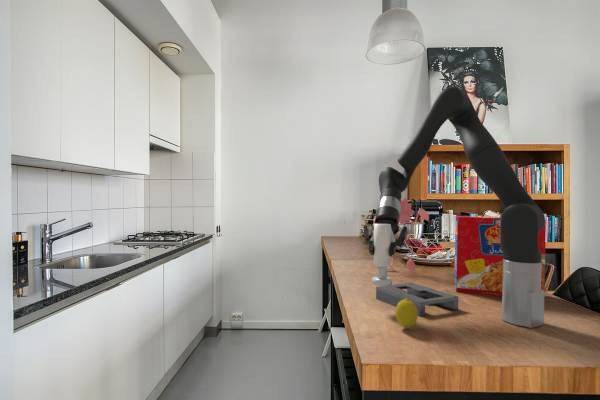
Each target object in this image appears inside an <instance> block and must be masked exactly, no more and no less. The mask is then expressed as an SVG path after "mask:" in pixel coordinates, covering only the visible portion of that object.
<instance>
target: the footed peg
mask: <svg viewBox="0 0 600 400" xmlns="http://www.w3.org/2000/svg"><path fill="white" fill-rule="evenodd" d="M373 224H374V223H373ZM373 233H374V255H373V266H375V267H377V269H376V270H377V276H373V277H371V284H373V285H374V286H389V285H393V278H391V277H388V275H387V274H388V270H387V267H389V266H391V258H392V256H389V249H390V243H391V224H374V231H373Z"/></svg>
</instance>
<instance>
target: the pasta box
mask: <svg viewBox="0 0 600 400" xmlns="http://www.w3.org/2000/svg"><path fill="white" fill-rule="evenodd" d="M500 222H501V217H500V216H497V217H496V216H495V217H493V216H468V215H467V216H465V215H464V216H463V215H461V216H459V215H455V229H454V231H455V232H454V233H455V234H454V235H455V236H454V239H455V241H454V275H453V277H454V279H453V281H454V284H453V285H454V287H455V288H454V289H455V290H454V291H455V292H456V293H462V294H463V293H464V294H472V295H484V296H492V297H493V296H495V297H502V279H503V252H502V249H501V238H500ZM546 227H547V221H546V219H545V225H544V227H543V229H542V230H541V231H540V232H539V233H538V247H539V250H540V252H541V255H542V260H541V290H544V293H545V292H546V290H545V287H546V285H545V284H546V282H545V281H546V241H547V239H546V234H547V233H546V232H547V231H546V230H547V229H546Z"/></svg>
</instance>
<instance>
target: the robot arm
mask: <svg viewBox="0 0 600 400" xmlns="http://www.w3.org/2000/svg"><path fill="white" fill-rule="evenodd" d="M447 120H448V121H449V122H450V123H451V124H452V125H453V127H454V129H455V130H456V132H457V133H458V135H459V137H460V140H461V142H462V146H463V150H464V153H465V156H466V158H467V161H468V162H469V164H470V166H471V167H472V169H473V170H474V172H475V173H476V175H477V177H478V178H479V179H480V180H481V181H482V182H483V183H484V184H485V185H486V186H487V187H488V188H489V189H490V190H491V191H492V192H493V193H494V195H496V197H497V199H498V200H499V201H500V203H501V205H502V206H503V209H504V210H503V211H502V213H501V222H500V238H501V249H502V252H503V279H502V296H501V320H503V321H504V322H507V323H508V324H512V325H515V326H520V327H526V328H528V329H529V328H530V329H531V328H532V329H533V328H538V327H539V326H544V325H545V292H544V290H541V260H542V255H541V252H540V250H539V247H538V233H539V232H540V231H541V230H542V229H543V227H544V225H545V220H546V217H545V214H544V212H543V211H542V209H541V208H540V206H538V204H537V203H536V202H535V201H534V200H533V198H532V197H531V195H530V194H529V193H528V192H527V191H526V189H525V188H524V186H523V185H522V183H521V181H520V179H519V178H518V176H517V174H516V172H515V171H514V168H513V167H512V165H511V164H510V162H509V160H508V158H507V156H506V154H505V153H504V151H503V150H502V149H501V147H500V145H499V144H498V143H497V141H496V140H495V138H494V137H493V135H492V134H491V133H490V131H488V129H487V128H486V127H485V126H484V123H482V121H481V120H480V118H479V115H478V113H477V111H476V109H475V107H474V105H473V103H472V101H471V99H470V97H469V95H468V94H466V93H465V92H464V91H463V90H462V89H460V88H459V87H455V86H449V87H446V88H444V89H442V90H441V91H440V92H439V93H438V94H437V96H436V97H435V99H434V101H433V103H432V105H431V107H430V109H429V111H428V112H427V114H426V115H425V117H424V120H423V121H422V123H421V124H420V126H419V128H418V130H417V131H416V132H415V135H414V136H413V137H412V138H411V140H410V142H409V143H408V144H407V145H406V147H405V148H404V149H403V151H402V152H401V153H400V155H399V156H398V158H397V163H398V164H399V165H400V166H401V167H402V168H403V169H404V171H403V172H400V171H399V170H397V169H395V168H393V167H391V166H387V167H384V168H383V169H382V170H381V171H380V173H379V176H378V187H379V192H380V196H379V201H378V204H377V208H376V213H375V216H376V217H375V216H374V217H375V222H374V221H373V223H372V225H370V226H368V225H366V224H365V225H363V236H364V237H363V238H364V241H365V244H366V245H368V252H369V254H370V256H374V224H391V243H390V249H389V256H391V257H393V256H394V255H395V252H396V247H397V246H399V247H402V246H403V245H404V244H405V243H404V242H405V240H406V238H407V236H408V234H409V233H408V228H407V226H403V227H402V226H401V227H399V225H400V223H399V217H400V203H401V201H402V195H403V194H402V193H403V192H405V191H406V189H407V188H408V186H409V185H410V181H411V178H412V177H413V174H414V173H415V171H416V169H417V167H418V166H419V165H420V163H421V162H422V161H423V160H424V158H425V157H426V156H427V154H428V153H429V150H430V149H431V147H432V145H433V142H434V139H435V137H436V135H437V134H438V132H439V130H440V128H441V127H442V126H443V124H445V123H446V122H447ZM372 232H373V233H372ZM399 232H400V235H399V236H398V238H397V239H396V237H395V235H396V234H398V233H399ZM371 233H372V235H371ZM370 235H371V238H370Z"/></svg>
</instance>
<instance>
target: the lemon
mask: <svg viewBox="0 0 600 400" xmlns="http://www.w3.org/2000/svg"><path fill="white" fill-rule="evenodd" d="M395 319H396V321H397V323H398V324H399V325H400V326H402V327H403V328H404V329H405V330H408V329H409V328H411V327H413V326H414V325H415V324H416V323H417V321H418V313H417V308H416V305H415V304H414V303H413V302H412V301H411V300H409V299H408V298H405V299H404V300H401V301H400V302H399V303H398V304H397V307H396V306H395Z"/></svg>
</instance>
